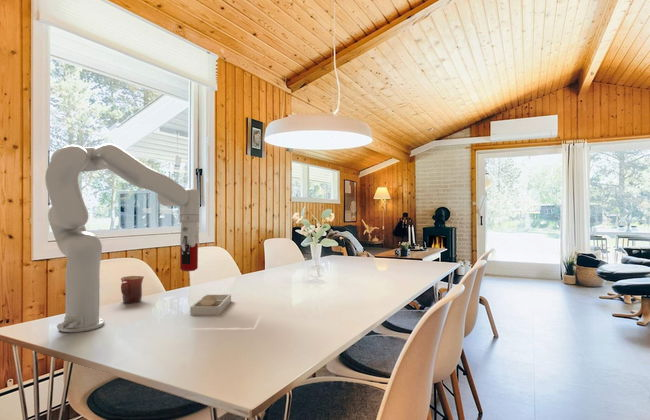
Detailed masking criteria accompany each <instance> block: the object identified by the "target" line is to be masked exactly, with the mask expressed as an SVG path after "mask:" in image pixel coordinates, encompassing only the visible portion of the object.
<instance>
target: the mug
mask: <svg viewBox="0 0 650 420" xmlns="http://www.w3.org/2000/svg"><path fill="white" fill-rule="evenodd" d="M144 278H145V276H143V275H129V276H122V277H120V282H121V285H120V292H121V295H122V302H123V303H125V304H134V303H135V302H136V303H139V302H140V301H141V300H142V297H143V281H144Z"/></svg>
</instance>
